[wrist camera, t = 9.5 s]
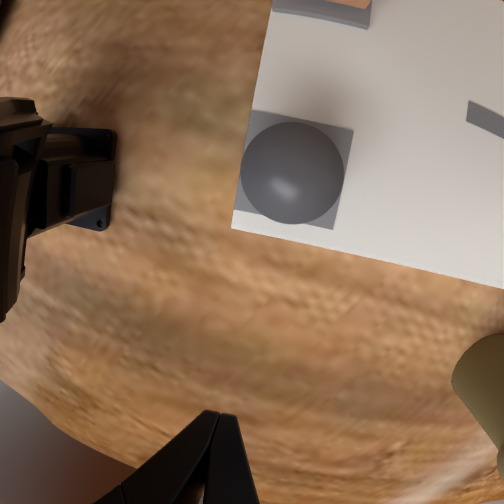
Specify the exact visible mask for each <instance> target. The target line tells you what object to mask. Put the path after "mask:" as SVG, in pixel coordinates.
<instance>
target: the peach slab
mask: <svg viewBox="0 0 504 504" xmlns="http://www.w3.org/2000/svg"><path fill="white" fill-rule="evenodd" d="M326 1H331V2H336V3H340V4H345V5H349V6H353V7H357V8H361V9H365V8H366V7H367V6H368V4H369V3H370V1H371V0H326Z"/></svg>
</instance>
